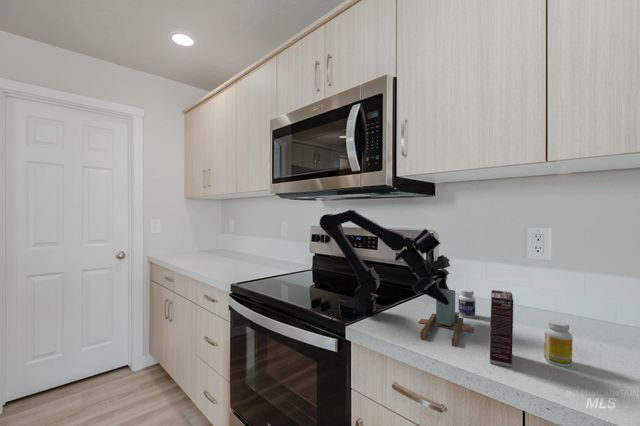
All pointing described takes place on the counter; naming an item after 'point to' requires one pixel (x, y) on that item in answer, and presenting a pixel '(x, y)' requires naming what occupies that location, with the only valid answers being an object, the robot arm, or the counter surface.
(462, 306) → the pill bottle
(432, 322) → the guide channel
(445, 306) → the block
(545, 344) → the supplement bottle
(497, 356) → the supplement box
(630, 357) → the counter surface
